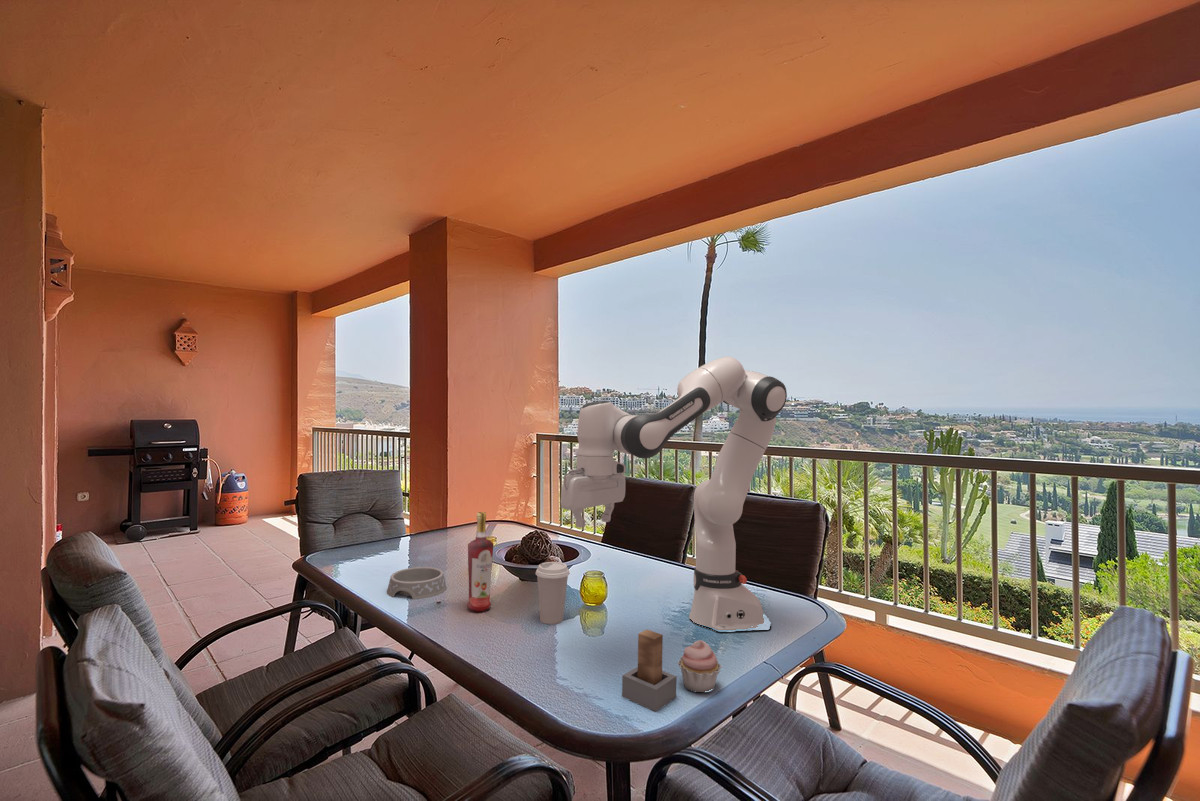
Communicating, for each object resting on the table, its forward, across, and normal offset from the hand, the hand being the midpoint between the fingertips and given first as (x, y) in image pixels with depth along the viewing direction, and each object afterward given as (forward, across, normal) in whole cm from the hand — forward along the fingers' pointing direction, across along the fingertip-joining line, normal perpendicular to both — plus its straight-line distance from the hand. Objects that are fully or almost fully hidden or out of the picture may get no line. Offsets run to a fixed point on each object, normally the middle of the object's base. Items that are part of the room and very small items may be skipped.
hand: (593, 524), depth 131 cm
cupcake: (+31, +4, -27) cm, 42 cm away
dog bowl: (+32, -4, +71) cm, 78 cm away
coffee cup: (+31, +8, +22) cm, 39 cm away
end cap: (+31, -7, -22) cm, 39 cm away
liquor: (+31, -1, +43) cm, 53 cm away
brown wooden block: (+30, -7, -22) cm, 38 cm away
